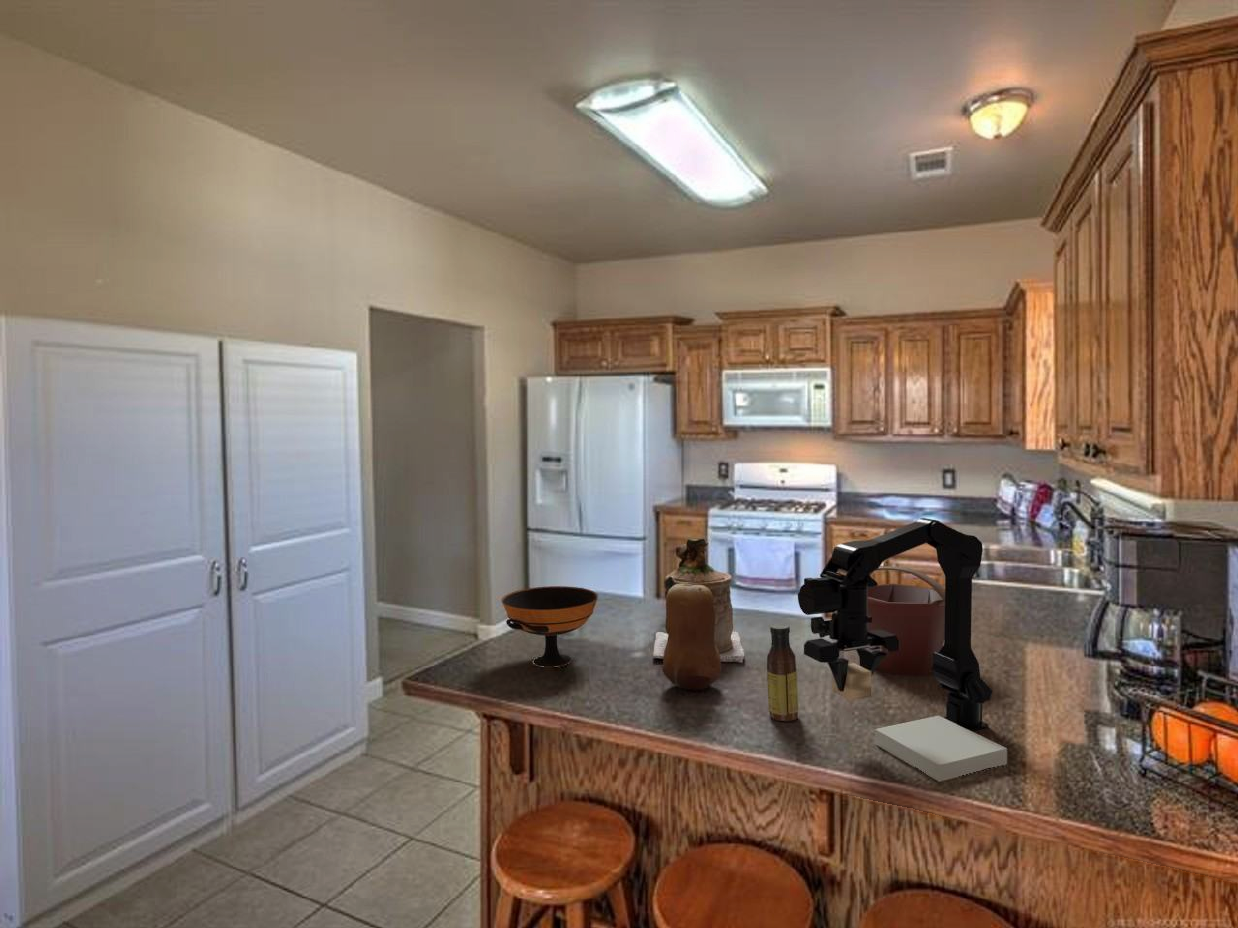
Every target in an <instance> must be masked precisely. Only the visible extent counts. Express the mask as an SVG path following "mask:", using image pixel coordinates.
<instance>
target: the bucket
mask: <svg viewBox="0 0 1238 928" xmlns="http://www.w3.org/2000/svg"><path fill="white" fill-rule="evenodd" d="M886 570H887V571H898V572H903V573H907V574H911V575H912V576H915V577H917V578H918V579H920V580H922V581H923V582H925V583H926V584H927V585H929V586H930V587H928V586H927V587H924V586H917V585H911V584H910V585H908V584H901V583H884V584H882V583H881V584H878V585H877V586H871V587H868V616H871V617H872V622H870V623H868V631H873V630H880V629H881V630H883V631H886V632H889V633H891V634H894V635H896V636H897V637H898V639H899V641H900V650H898V651H892V652H888V651H886V650H885V649H884V645H882V646H881V648H882V652H884V653H886V654H887V656H886V657H883V659H882V660H881V662H880V663H879V665H878V666H877V668H876V669H875V670H879V671H881V672H883V673H887V674H889V675H892V676H893V675H894V676H896V675H897V676H914V677H915V676H918V677H924V676H926V675H928V674H929V673H932V672H933V671H932V668H933V653H934V652H939V651H940V650H941V648H942V647H943V646H944V631H945V587H944V586H943V585H942V584H941V583H939V582H938V581H936V580H935V579H934V578H932V577H930V576H929V575H927V574H926V573H923V572H921V571H920V570H917V569H912V568H909V567H903V566H898V565H897V566H895V565H894V566H893V565H891V566H889V565H886V566H880V567H879V568H878V569H876V570H875V571H876V572H877V571H886ZM875 571H873V572H872V573H870V576H872V574H873V573H874V572H875Z"/></svg>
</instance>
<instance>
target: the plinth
mask: <svg viewBox="0 0 1238 928" xmlns="http://www.w3.org/2000/svg"><path fill="white" fill-rule="evenodd" d="M943 717H944V716H943ZM943 717H942V716H940V715H935V716H930V717H926V718H921V719H916V720H912V721H907V722H902V723H898V724H893V725H887V726H883V727H878V728H875V729H874V744H875V745H876V746H877V747H879V748H881V749H882V750H884V751H886V752H888V753H889V754H890V755H893V756H894V757H896V758H898V759H899V760H902V761H903V762H905V763H907V764H908V765H910V766H911V767H913V768H915V767H916V768H918V769H919V770H918V769H917V770H918V771H920V770H921V771H922V773H923V772H924V773H923V774H925V773H926V774H925V775H927V776H928V777H930V778H932V779H933V780H935V781H937V782H938V783H940V782H944V781H948V780H952V779H955V778H960V777H963V776H962V775H964V776H967V775H966V774H968V775H970V774H969V773H972V774H974V773H973V772H976V771H980V770H983V769H986V768H990V767H995V768H998V767H997V766H999V767H1002V765H1003V766H1007V765H1008V748H1007V747H1004V746H1002V745H1001V744H999V743H997V742H994V741H993V740H990V739H989V738H986V737H984V736H982V735H980V734H977V733H976V732H974V731H970V730H968V729H966V728H963V727H961V726H959V725H957V724H955V723H953V722H951V721H949V720H947V719H945V718H943ZM1006 764H1007V765H1006ZM916 768H915V769H916ZM921 771H920V772H921ZM980 772H981V771H980ZM976 773H977V772H976ZM959 776H960V777H959Z"/></svg>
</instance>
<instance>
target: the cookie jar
mask: <svg viewBox="0 0 1238 928" xmlns="http://www.w3.org/2000/svg"><path fill="white" fill-rule="evenodd" d="M709 544H710V543H709V542H708V541H706V540H705V538H704V537H700V538H698V539H697V538H696V539H694V538H688V539H687V540H686V543H685V544H680V545H677V546H676V547H675V554H676V557H677V558H679V559H680V561H679V563H678V567H677V568H676V569H675V570H673V571H672V572H671V573H669V574H666V576H665V577H664V580H663V586H664V589H665V592H664V597H665V599H666V596H667V593H668V591H669V589H670V588H671V587H672V586H674V585H676V584H682V583H683V584H690V585H703V586H705V587H707V588H708V589H709V590H710V591H711V593H712V595H713V599H714V607H715V630H714V641H715V644H716V646H717V649H718V652H719V654H720V658H721V663H722V662H724V663H731V662H732V663H741V664H743V663H744V662H743V660H744V659H745V655H746V654H745V653H746V652H744V651H745V649H744V647H743V646H742V643H741V636H740V634H739V632H738V631H734V610H733V604H732V599H731V588H730V585H731V583H732V580H733V577H732V575H731V574H730V573H727V572H722V571H718V570H715V569H714V568H713V566H710V564H707V562H706V556H705V555H706V553H705V552H706V551H705V549H706V547H707V546H709ZM667 641H668V633H667V632H662V631H657V632H656V633H655V640H654V641H653V653H652V656H653V658H654V659H662V660H663V657H664V650H665V647H666V644H667Z"/></svg>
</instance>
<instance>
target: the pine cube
mask: <svg viewBox="0 0 1238 928" xmlns="http://www.w3.org/2000/svg"><path fill="white" fill-rule="evenodd" d="M832 678H833V679H832V685H833V687H832V688H833V689H832V690H833V691H832V692H833V693H835V694H837V695H838V696H840V697H843V698H844V699H846V700H848V701H850V702H851V701H856V700H861V699H862V700H863V699H866V698H867V699H868V698H871V697H872V677H871V671H870V670H868V669H865V668H863V667H861V666H860V664H859V665H858V664H857V663H853V662H852V663H848V669H847V676H846V682H845V687H844V691H843V692H841V691H839V690H838V688H837V685H836V682H835V679H834V677H833V676H832Z"/></svg>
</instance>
